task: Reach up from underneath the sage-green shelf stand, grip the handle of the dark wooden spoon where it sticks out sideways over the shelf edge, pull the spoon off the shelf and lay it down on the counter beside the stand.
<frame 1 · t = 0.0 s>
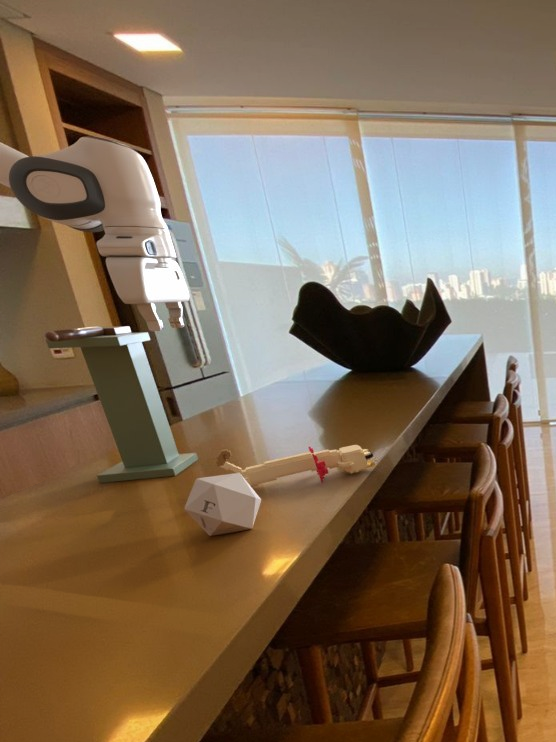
hand: (168, 329, 105), 27 cm above the counter, tool pointing down, fingers open, 8 cm apart
spoon: (97, 335, 101), point 26 cm above the counter, touching spoon stand
die: (232, 530, 84), on the counter
spoon stand: (148, 472, 111), on the counter
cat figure: (306, 481, 106), on the counter
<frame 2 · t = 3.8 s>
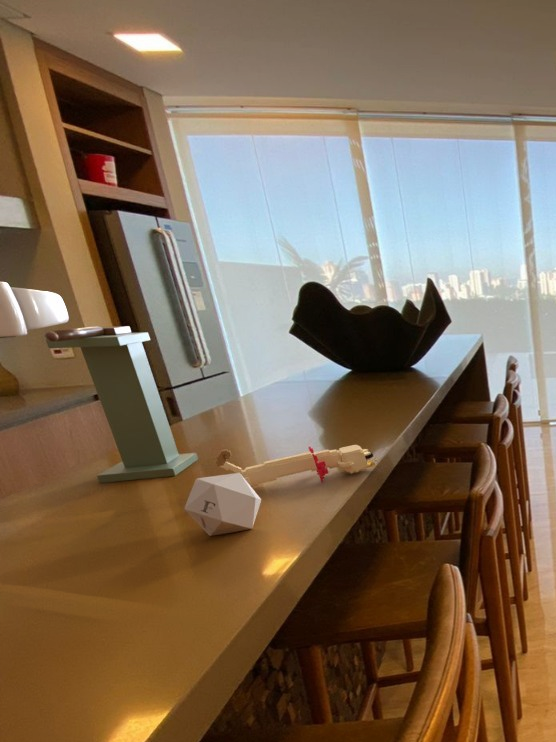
nothing on the counter moved.
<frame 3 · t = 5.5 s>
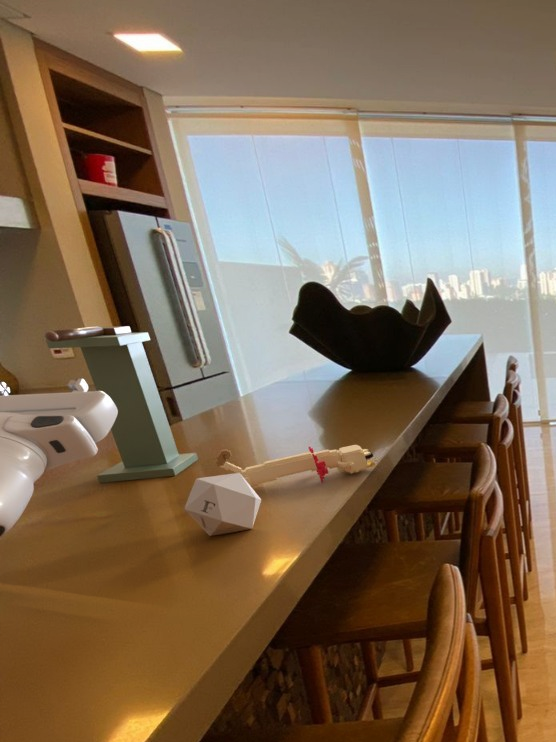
hand: (41, 384, 85), 20 cm above the counter, tool pointing upward, fingers open, 8 cm apart
nothing on the counter moved.
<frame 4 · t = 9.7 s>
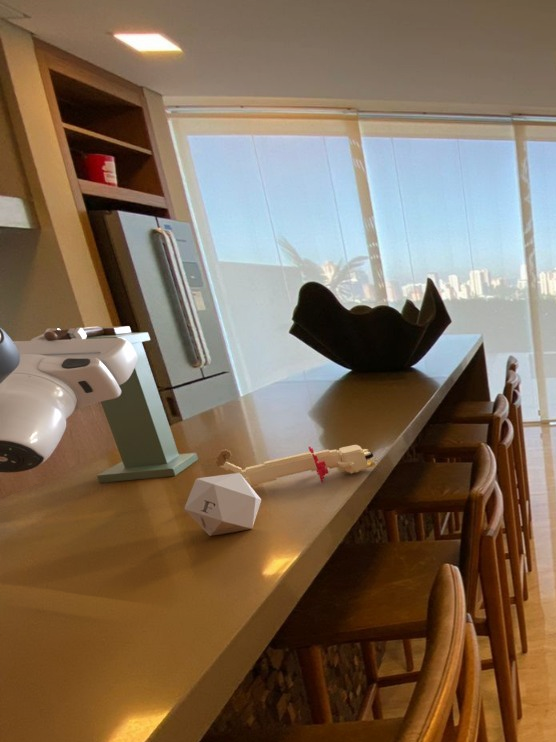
hand: (67, 331, 93), 27 cm above the counter, tool pointing upward, fingers closed on spoon, 1 cm apart
spoon: (96, 335, 101), point 26 cm above the counter, touching gripper, spoon stand
everything else where it was.
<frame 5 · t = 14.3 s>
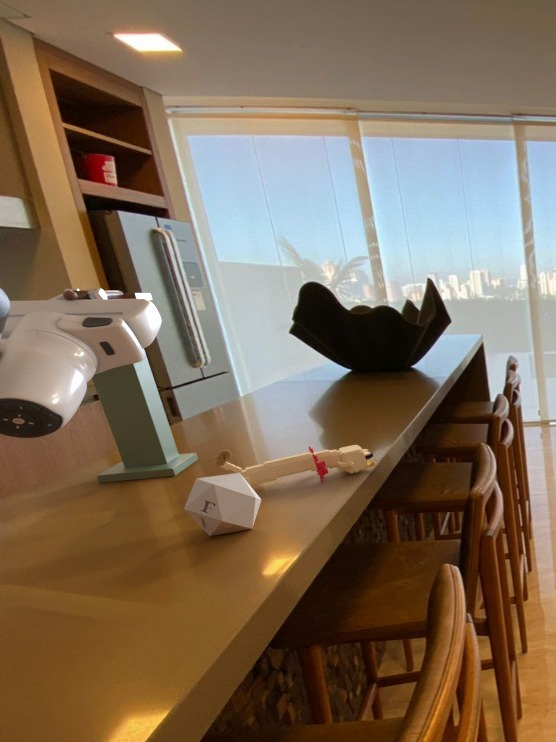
hand: (87, 292, 87), 33 cm above the counter, tool pointing upward, fingers closed on spoon
spoon: (117, 300, 95), point 32 cm above the counter, touching gripper
everything else where it was.
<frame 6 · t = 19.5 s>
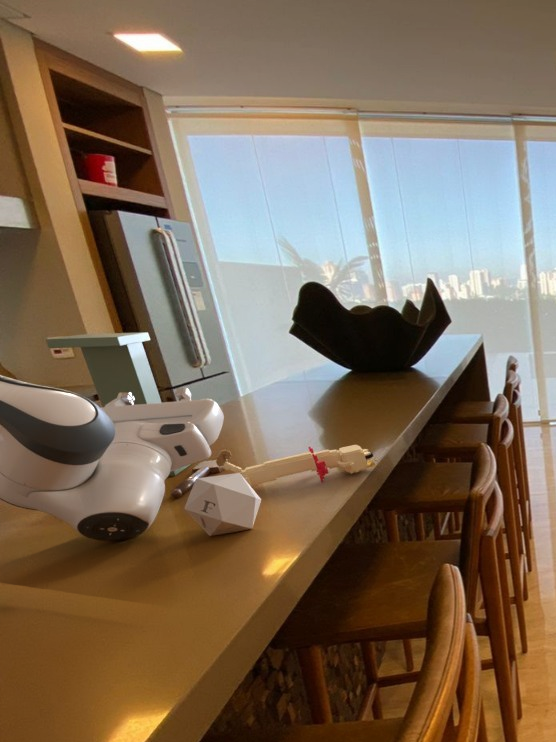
hand: (156, 393, 95), 17 cm above the counter, tool pointing upward, fingers open, 7 cm apart
spoon: (204, 476, 109), on the counter
everything else where it was.
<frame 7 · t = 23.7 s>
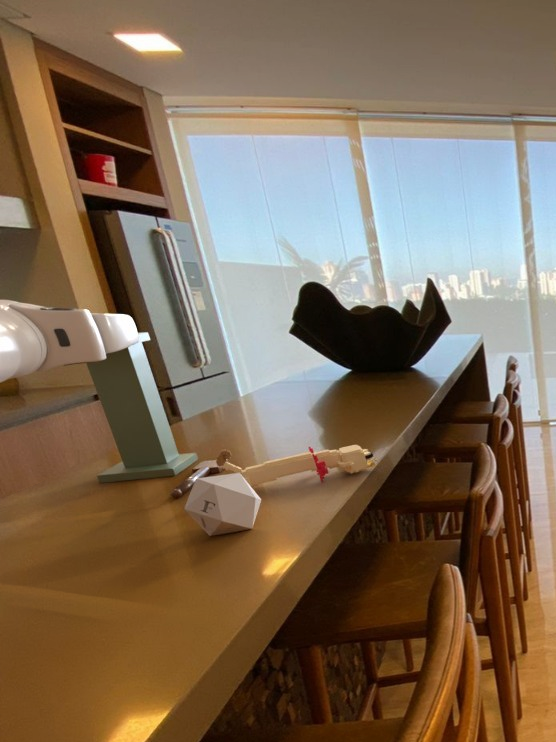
hand: (68, 326, 82), 29 cm above the counter, tool horizontal, fingers open, 8 cm apart
nothing on the counter moved.
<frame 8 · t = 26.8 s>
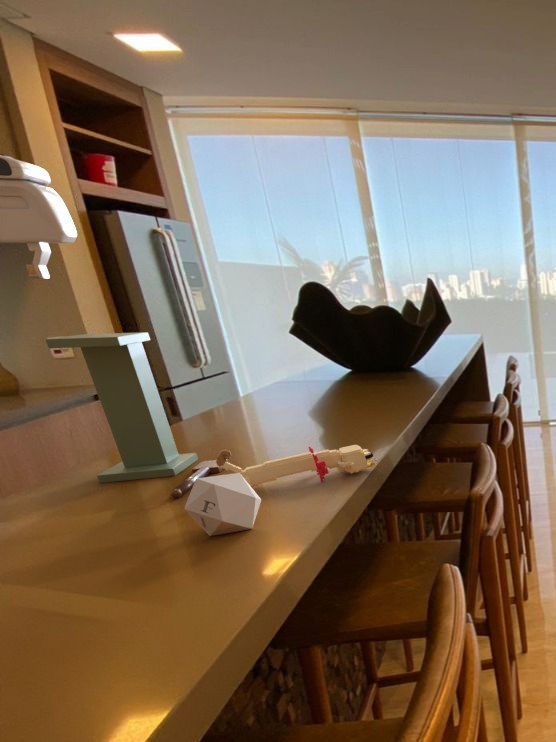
nothing on the counter moved.
at the end: spoon inside the target area (5.3 cm from its centre), on the counter; the gripper is holding nothing; spoon moved 29.0 cm from its start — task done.
